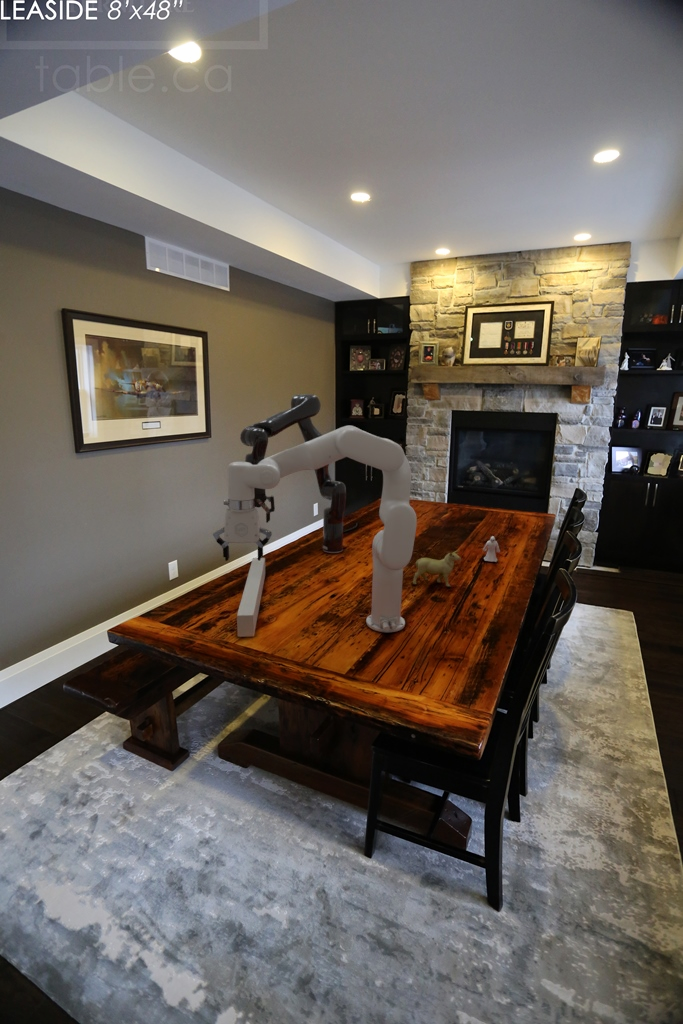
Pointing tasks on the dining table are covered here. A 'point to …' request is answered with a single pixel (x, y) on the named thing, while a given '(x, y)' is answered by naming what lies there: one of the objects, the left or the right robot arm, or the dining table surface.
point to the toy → (436, 567)
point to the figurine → (491, 550)
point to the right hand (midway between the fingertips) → (243, 559)
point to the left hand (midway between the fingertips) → (256, 522)
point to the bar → (251, 599)
